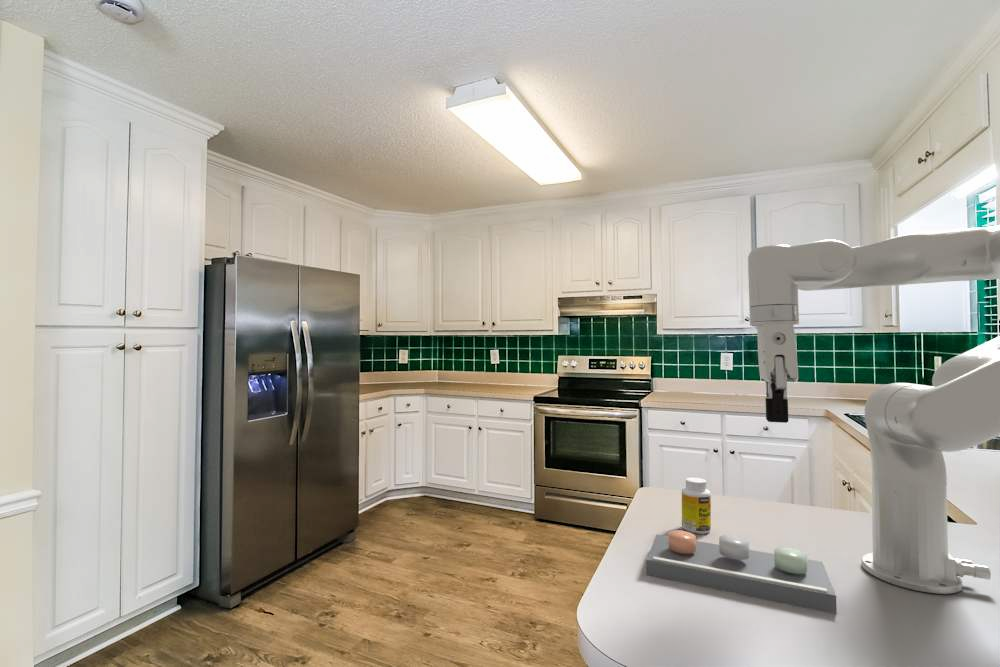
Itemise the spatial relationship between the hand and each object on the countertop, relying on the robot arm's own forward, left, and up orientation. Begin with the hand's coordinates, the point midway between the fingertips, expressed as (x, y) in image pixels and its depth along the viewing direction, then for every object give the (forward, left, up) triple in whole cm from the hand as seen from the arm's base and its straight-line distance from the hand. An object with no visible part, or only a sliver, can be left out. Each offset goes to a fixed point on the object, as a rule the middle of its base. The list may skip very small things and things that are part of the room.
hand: (777, 421), depth 84 cm
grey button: (+7, +8, -21) cm, 24 cm away
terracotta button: (+15, +8, -22) cm, 28 cm away
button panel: (+7, +8, -25) cm, 27 cm away
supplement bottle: (+14, -11, -25) cm, 30 cm away
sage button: (-1, +8, -22) cm, 23 cm away
